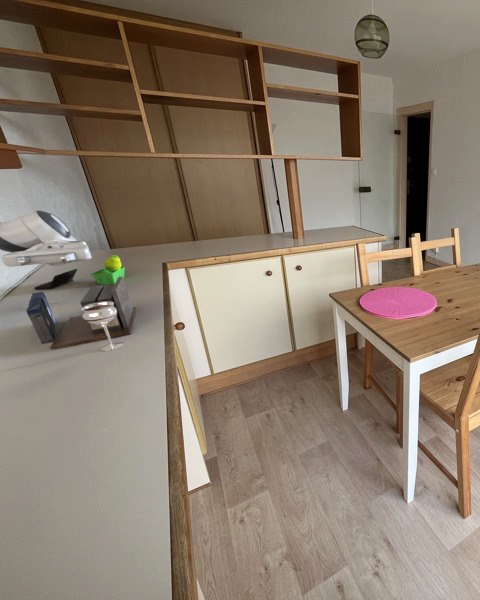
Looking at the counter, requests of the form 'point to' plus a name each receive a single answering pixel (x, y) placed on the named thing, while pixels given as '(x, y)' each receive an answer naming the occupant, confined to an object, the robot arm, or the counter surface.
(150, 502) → the counter surface
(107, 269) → the fruit basket
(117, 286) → the book rack
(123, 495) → the counter surface
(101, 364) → the counter surface
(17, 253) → the robot arm
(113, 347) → the wineglass
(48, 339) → the vhs cassette tape
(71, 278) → the handheld gaming console
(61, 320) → the counter surface
